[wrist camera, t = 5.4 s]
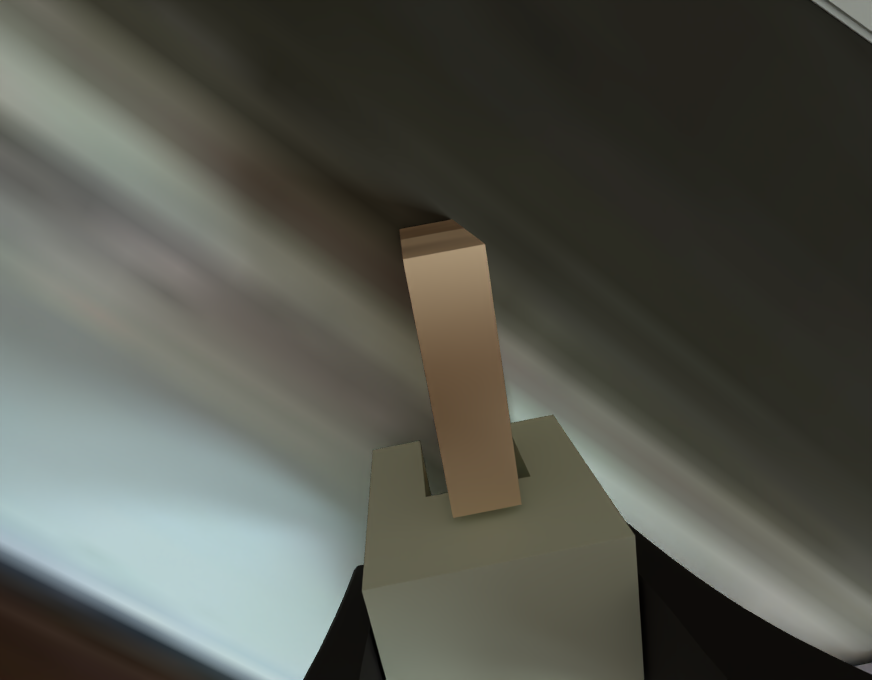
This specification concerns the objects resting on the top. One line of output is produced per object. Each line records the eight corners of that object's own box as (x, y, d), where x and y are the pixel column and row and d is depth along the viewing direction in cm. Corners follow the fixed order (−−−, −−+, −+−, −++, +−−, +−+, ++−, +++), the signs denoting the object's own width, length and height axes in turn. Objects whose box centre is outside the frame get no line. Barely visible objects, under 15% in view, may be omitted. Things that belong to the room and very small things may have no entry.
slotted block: (567, 548, 15) (646, 713, 11) (404, 581, 15) (409, 763, 11) (553, 414, 14) (635, 535, 9) (372, 449, 14) (361, 590, 9)
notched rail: (523, 668, 18) (568, 840, 14) (485, 676, 18) (517, 851, 14) (452, 219, 13) (484, 244, 9) (399, 229, 13) (403, 259, 9)
